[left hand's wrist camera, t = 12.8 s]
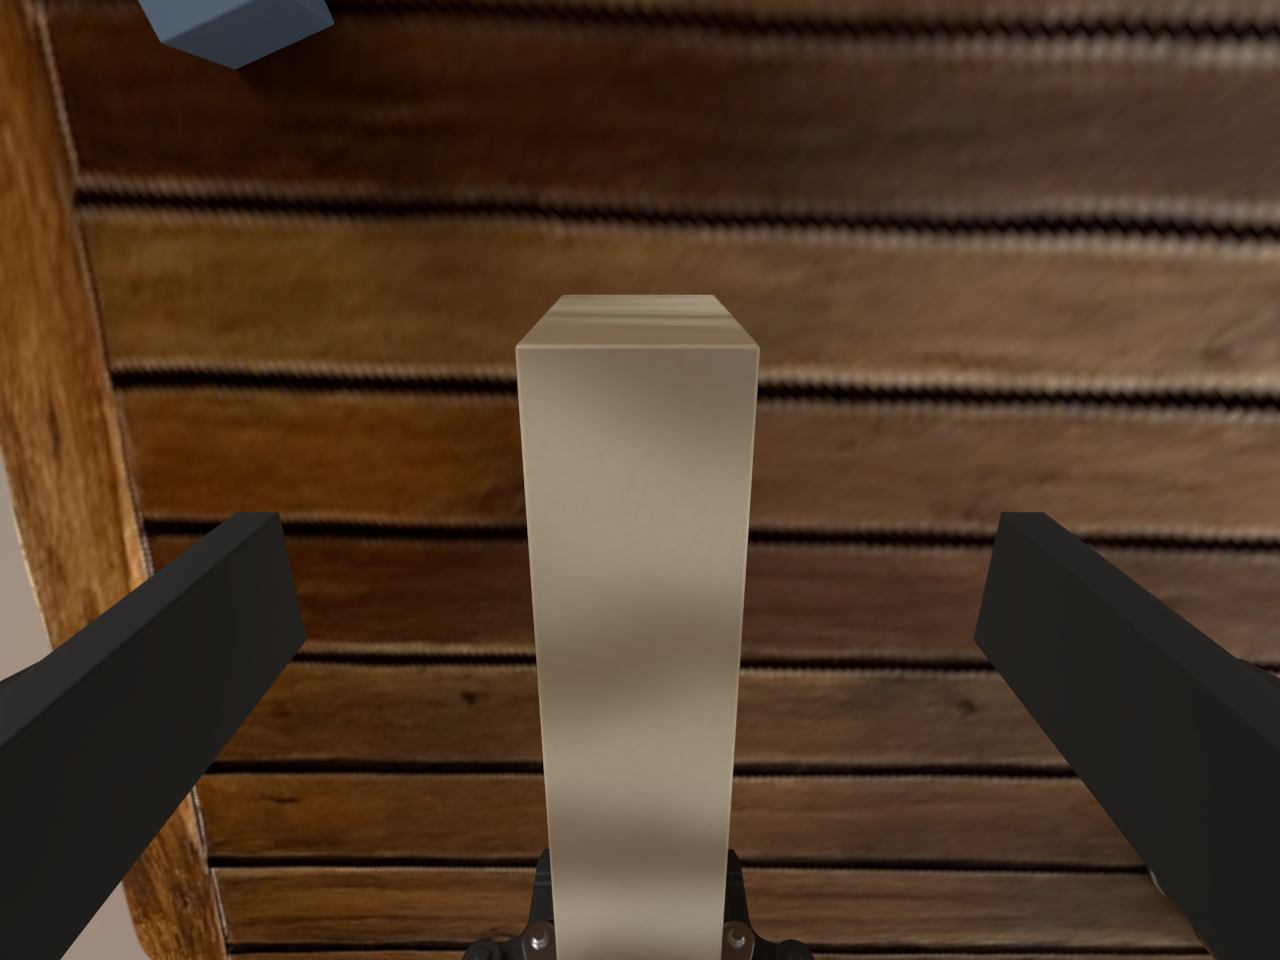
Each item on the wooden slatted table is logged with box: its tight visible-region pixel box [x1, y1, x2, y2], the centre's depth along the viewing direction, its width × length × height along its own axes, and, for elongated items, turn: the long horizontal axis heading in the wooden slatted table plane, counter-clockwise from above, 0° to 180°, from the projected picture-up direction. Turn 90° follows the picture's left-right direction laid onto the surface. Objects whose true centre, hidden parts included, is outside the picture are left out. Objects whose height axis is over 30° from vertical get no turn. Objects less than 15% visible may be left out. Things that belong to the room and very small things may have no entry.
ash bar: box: [515, 295, 760, 960], centre depth 23 cm, size 25×5×9 cm, turn 0°
